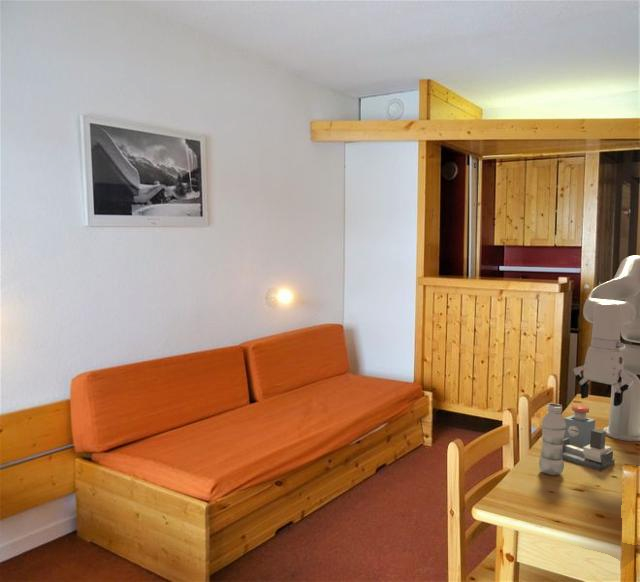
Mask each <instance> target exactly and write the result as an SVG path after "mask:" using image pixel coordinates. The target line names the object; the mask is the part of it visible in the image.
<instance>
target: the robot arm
mask: <svg viewBox="0 0 640 582" xmlns="http://www.w3.org/2000/svg"><path fill="white" fill-rule="evenodd" d="M582 314H583V315H582V316H583V318H584V319H585V320H586V321H587V322H589V323H591V324H592V330H591V340H590V346H588V349H587V351H586V356H585V360H584V364H583V365H581V366H580V365H579V366H576V367H574V368H573V373H574V375H575V379H577V381H578V383H579V385H580V391H579V392H580V398H581V399H587V398H589V391H590V384H589V382H594V383H595V382H596V383H600V384H605V385H610V386H611V392H610V403H609V404H610V405H609V416H608V426H605V427H604V428H603V430H604V431H606V436H607V437H609V438H612V439H616V440H621V441H626V442H639V441H640V378H639V377H638V376H637V375H640V345H637V344H628V343H623V342H621V337H622V339H623V340H624V341H627V342H630V343H631V342H632V343H638V344H640V255H630V256H627V257H625V258H624V259H623V260H622V261H621V263H620V264H619V267H618V269H617V271H616V273H615V275H614V277H613V278H612V279H610V280H608V281H605V282H603V283H600V284H599V285H597V286H596V287H594V288H593V289H592V290H591V291H590V293H589V294H588V295H587V298H586V300H585V303H584V304H583V310H582ZM581 371H583V375H582V373H581Z"/></svg>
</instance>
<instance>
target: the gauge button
mask: <svg viewBox="0 0 640 582" xmlns="http://www.w3.org/2000/svg"><path fill="white" fill-rule="evenodd" d="M571 411H572V412H573V415H574V420H578V421H582V422H584V421H586V417H587V413H590V408H589V407H588V406H584V405H575V404H574V405H572V406H571Z"/></svg>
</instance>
